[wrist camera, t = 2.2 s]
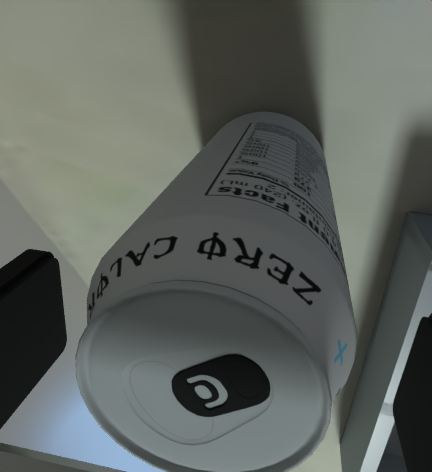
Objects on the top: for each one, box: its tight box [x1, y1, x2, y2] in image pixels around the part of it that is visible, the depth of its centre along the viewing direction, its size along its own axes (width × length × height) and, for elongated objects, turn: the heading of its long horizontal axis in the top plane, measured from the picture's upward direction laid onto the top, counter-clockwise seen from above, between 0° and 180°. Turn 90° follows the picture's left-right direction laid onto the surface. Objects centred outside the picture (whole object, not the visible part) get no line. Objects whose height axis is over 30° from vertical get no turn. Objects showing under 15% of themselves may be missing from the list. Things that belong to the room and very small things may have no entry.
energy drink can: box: [76, 112, 357, 472], centre depth 14 cm, size 6×6×15 cm
